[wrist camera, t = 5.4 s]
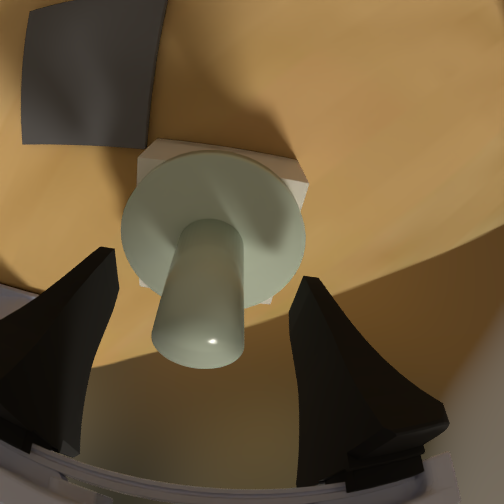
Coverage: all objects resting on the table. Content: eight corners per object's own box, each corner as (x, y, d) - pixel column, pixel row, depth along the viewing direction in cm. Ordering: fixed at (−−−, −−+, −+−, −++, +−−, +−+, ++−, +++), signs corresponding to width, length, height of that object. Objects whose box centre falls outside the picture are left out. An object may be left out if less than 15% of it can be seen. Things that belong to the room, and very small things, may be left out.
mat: (26, 142, 12) (22, 144, 12) (34, 11, 8) (29, 11, 7) (146, 146, 13) (144, 149, 13) (169, -8, 9) (167, -9, 9)
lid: (136, 292, 15) (106, 385, 10) (121, 145, 10) (41, 218, 6) (283, 306, 16) (295, 403, 11) (320, 163, 11) (374, 248, 7)
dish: (152, 252, 17) (139, 286, 15) (157, 138, 13) (137, 157, 11) (266, 268, 18) (270, 304, 16) (297, 160, 14) (309, 183, 12)
